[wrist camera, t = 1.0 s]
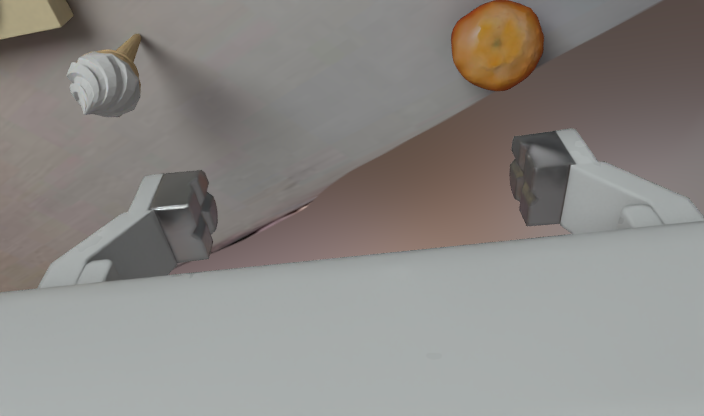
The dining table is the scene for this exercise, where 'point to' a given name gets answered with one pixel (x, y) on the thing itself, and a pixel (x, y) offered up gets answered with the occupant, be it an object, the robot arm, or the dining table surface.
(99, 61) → the ice cream cone
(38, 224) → the dining table surface
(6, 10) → the hob
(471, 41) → the fruit
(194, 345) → the robot arm
